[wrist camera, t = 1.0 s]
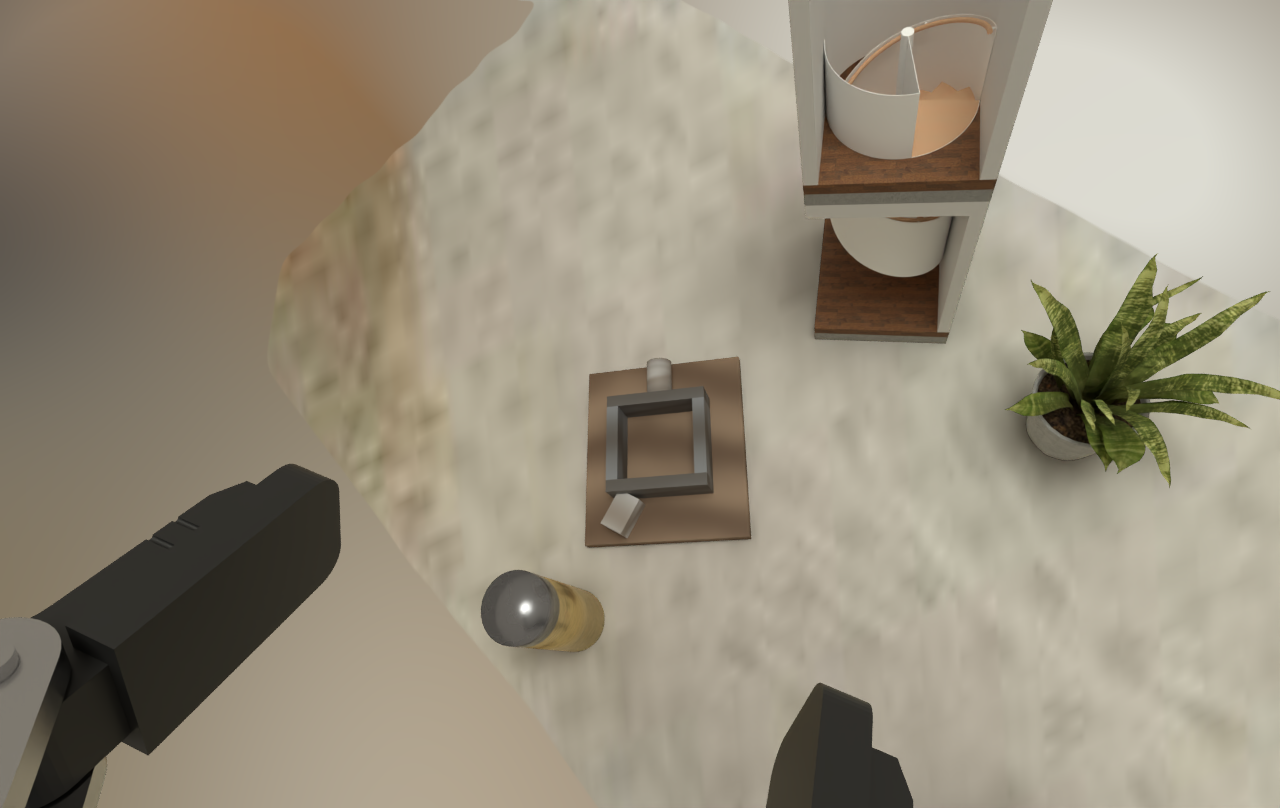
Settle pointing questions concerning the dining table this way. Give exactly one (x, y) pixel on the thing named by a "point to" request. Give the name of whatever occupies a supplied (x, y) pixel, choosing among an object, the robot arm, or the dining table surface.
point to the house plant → (1123, 379)
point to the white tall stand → (904, 149)
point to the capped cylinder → (540, 613)
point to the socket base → (667, 455)
